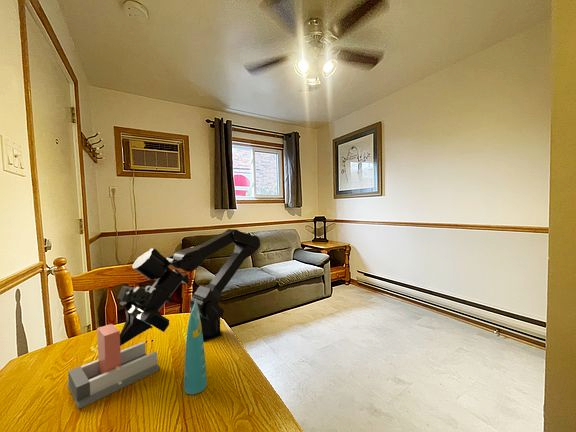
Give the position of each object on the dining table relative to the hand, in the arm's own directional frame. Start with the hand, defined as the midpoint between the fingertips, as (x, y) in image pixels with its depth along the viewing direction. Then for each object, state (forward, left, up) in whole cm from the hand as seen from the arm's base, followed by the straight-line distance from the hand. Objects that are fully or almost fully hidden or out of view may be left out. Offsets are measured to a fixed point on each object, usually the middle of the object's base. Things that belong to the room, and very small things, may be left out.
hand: (117, 345), depth 61 cm
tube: (-14, +15, -8) cm, 23 cm away
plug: (+2, 0, -6) cm, 7 cm away
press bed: (+1, 0, -8) cm, 8 cm away
